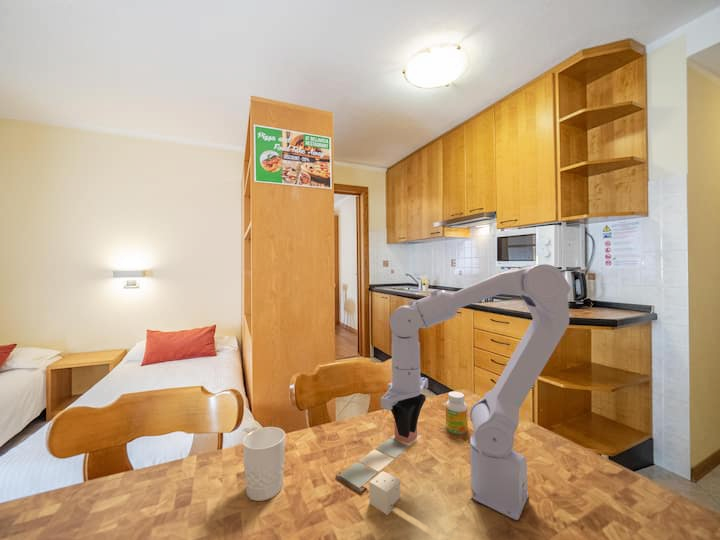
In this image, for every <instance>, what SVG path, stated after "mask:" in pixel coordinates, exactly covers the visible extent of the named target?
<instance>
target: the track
mask: <svg viewBox="0 0 720 540" xmlns="http://www.w3.org/2000/svg"><path fill="white" fill-rule="evenodd" d="M420 438H422V435H419V434H418V433H417V437H416V438H414V439H413V440H412V441H411V442H410V443H407V442H404V441H402V440H400V439H397V438H395V434H393V435H392V436H390V438H387V439H386V440H385V441H383V442H382V443H381V444H380V445H378V446H377V447H376V448H375V447H374V448H375V449H372V450H371V451H370V452H369V453H367V454H365V455H364V456H363V457H361V458H360V459H359V460H358V461H356V462H355V463H354V464H352V465H351V466H350V467H348V468H346V469H345V470H344V471H341V472H338V473H337V474H335V479H336V480H337V481H340V482H341V483H342V484H344V485H346V486H347V487H349V488H351V489H352V490H354V491H355V492H356V493H358V494H360V495H363V494H364V493H365V492H366V491H368V488H366V487H364V485H365V484H366V483H368V481H369V482H370V481H371V480H372V479H373V478H374V476H375V477H376V476H377V475H378V473H380V472H382V471H383V469H385V467H387V466H388V465H389V464H390V463H392V462H393V461H394V460H395V459H397V457H399V456H400V455H401V454H402V453H403V452H404V451H406V450H407V449H408V448H409V447H411V446H412V445H413V444H414V443H416V441H418V440H419V439H420Z"/></svg>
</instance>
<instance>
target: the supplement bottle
mask: <svg viewBox="0 0 720 540" xmlns="http://www.w3.org/2000/svg"><path fill="white" fill-rule="evenodd" d="M445 428H446V430H447V431H448V432H450V433H452V434H456V435H464V434H466V433H467V432H469V431H468V430H469V429H468V405H467V403H466V402H465V394H463V393H462V392H459V391H449V392H448V400H447V401H446V403H445Z"/></svg>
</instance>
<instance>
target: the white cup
mask: <svg viewBox="0 0 720 540" xmlns="http://www.w3.org/2000/svg"><path fill="white" fill-rule="evenodd" d="M285 447H286V432H285V430H284V429H282V428H280V427H277V426H276V427H275V426H266V427H265V426H264V427H260V428H256V429H254V430H252V431H251V432H249V433H248V434H246V435H245V436H244V437H243V439H242V450H243V466H244V467H243V468H244V478H245V487H246V488H245V489H246V490H245V491H246V496H247V497H248V498H249V499H250V500H252V501H256V502H261V501H267V500H270V499H272V498H274V497H275V496H277V495H278V494H279V493H280V492H281V490H282V488H283V485H284V470H285V469H284V468H285V449H286V448H285Z"/></svg>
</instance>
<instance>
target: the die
mask: <svg viewBox="0 0 720 540" xmlns="http://www.w3.org/2000/svg"><path fill="white" fill-rule="evenodd" d="M368 485H369V504H370V505H371V506H373V508H374V507H375V508H376V509H377V510H379V512H382V513H384V514H385V515H387V516H388V515H389V514H390V513H391V512H392V511H393V510H394V509H395V508H396V507H397V506H396V505H394V504H396V502H397V501H398V500H399V499H400V498H401V479H399V478H397V477H395V476H393V475H392V474H390V473H387V472H385V471H384V470H381V471H380V472H378V473H377V474H376V475H375V477H372V478H371V479H370V480H369V484H368Z"/></svg>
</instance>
